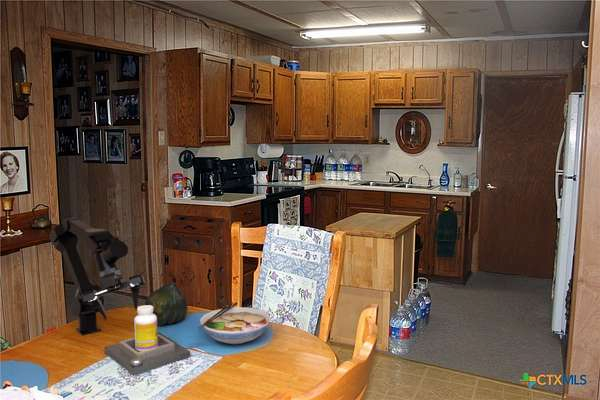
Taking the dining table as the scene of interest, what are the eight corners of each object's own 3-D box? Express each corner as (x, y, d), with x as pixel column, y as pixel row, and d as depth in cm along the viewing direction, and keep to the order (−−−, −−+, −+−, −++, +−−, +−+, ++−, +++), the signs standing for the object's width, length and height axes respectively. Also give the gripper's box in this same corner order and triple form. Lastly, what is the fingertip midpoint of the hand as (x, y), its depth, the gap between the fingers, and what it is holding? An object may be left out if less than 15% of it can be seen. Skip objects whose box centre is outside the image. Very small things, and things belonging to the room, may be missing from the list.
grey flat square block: (105, 353, 162) (104, 340, 162) (159, 338, 174) (158, 326, 174) (133, 375, 148) (132, 361, 147) (190, 357, 159) (190, 344, 159)
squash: (129, 310, 185) (152, 281, 180) (156, 299, 199) (179, 272, 194) (154, 340, 182) (178, 313, 177) (180, 327, 196) (203, 301, 191)
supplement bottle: (159, 350, 159) (158, 309, 157) (136, 354, 156) (135, 312, 155) (156, 342, 165) (154, 302, 164) (134, 346, 163) (132, 305, 161)
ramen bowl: (251, 361, 157) (251, 334, 156) (184, 349, 165) (184, 324, 164) (282, 331, 181) (282, 308, 180) (223, 322, 188) (222, 300, 187)
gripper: (70, 274, 158) (85, 325, 155) (133, 253, 162) (148, 302, 159) (80, 279, 169) (93, 326, 165) (138, 259, 173) (152, 305, 170)
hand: (121, 315), depth 165 cm, fingers open, 9 cm apart
